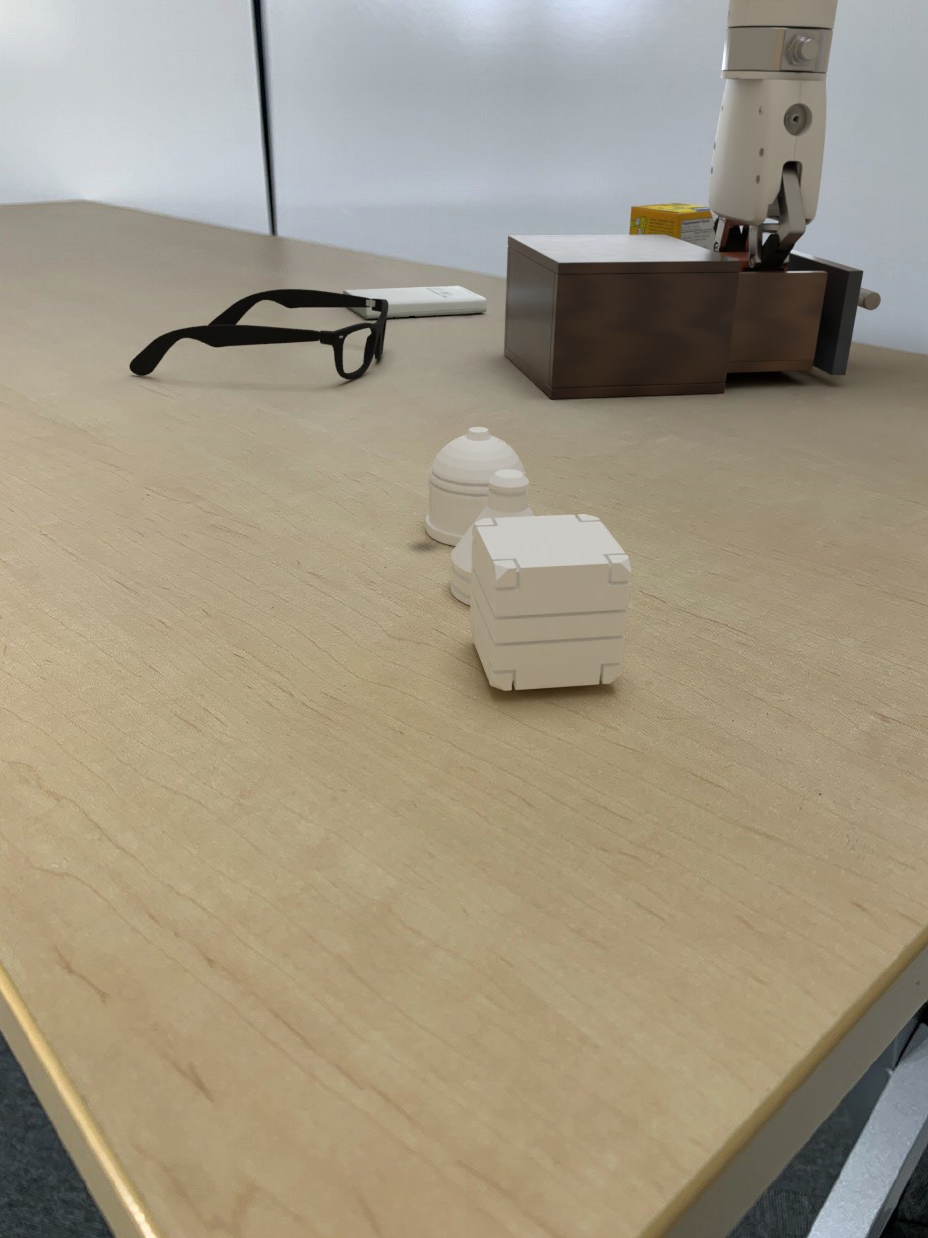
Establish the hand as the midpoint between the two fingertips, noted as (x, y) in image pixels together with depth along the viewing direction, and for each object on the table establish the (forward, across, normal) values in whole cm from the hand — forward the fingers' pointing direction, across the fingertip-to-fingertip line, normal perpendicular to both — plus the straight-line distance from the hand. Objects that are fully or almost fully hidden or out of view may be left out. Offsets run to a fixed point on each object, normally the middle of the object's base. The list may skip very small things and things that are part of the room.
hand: (741, 311), depth 88 cm
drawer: (+4, 0, -2) cm, 4 cm away
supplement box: (+5, +16, 0) cm, 17 cm away
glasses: (+5, +7, +37) cm, 38 cm away
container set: (+5, -39, +29) cm, 49 cm away
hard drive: (+5, +28, +22) cm, 36 cm away
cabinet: (+5, 0, +11) cm, 12 cm away
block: (0, 0, 0) cm, 0 cm away
